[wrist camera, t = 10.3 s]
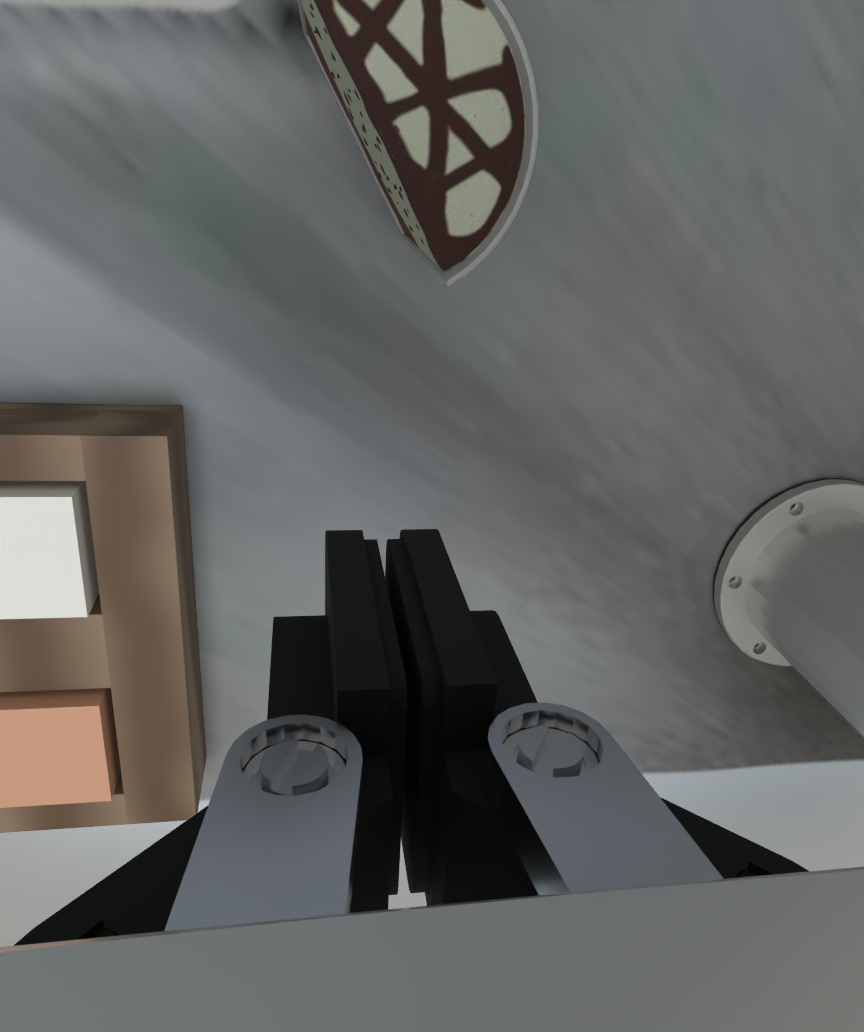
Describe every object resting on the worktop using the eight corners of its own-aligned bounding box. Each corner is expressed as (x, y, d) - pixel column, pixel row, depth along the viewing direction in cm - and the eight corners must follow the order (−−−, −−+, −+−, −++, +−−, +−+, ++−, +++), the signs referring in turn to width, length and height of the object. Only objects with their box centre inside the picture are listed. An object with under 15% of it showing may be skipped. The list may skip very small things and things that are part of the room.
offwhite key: (91, 468, 37) (71, 497, 34) (104, 580, 39) (87, 617, 36) (-46, 467, 36) (-80, 497, 33) (-24, 582, 38) (-54, 620, 35)
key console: (182, 405, 39) (167, 436, 34) (206, 758, 47) (196, 819, 43) (-129, 400, 36) (-190, 432, 32) (-45, 771, 45) (-83, 838, 41)
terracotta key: (114, 664, 41) (98, 705, 38) (125, 754, 44) (111, 801, 40) (-8, 668, 40) (-35, 711, 37) (10, 760, 43) (-14, 808, 39)
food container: (529, 205, 38) (603, 215, 29) (417, 267, 38) (454, 296, 29) (414, -80, 32) (459, -179, 23) (284, -5, 33) (279, -74, 24)
